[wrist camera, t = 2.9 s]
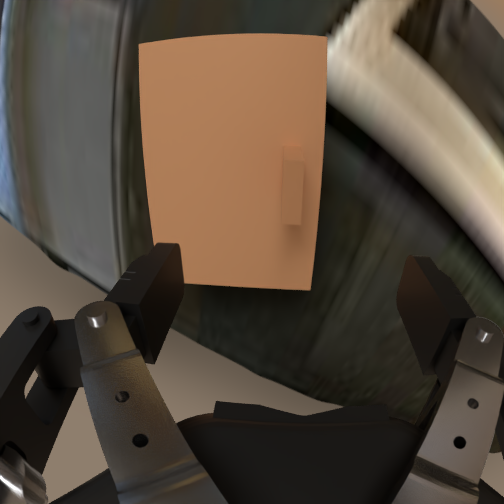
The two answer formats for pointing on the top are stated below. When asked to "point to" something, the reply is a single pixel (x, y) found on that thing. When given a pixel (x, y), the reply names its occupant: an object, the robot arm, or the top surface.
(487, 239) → the top surface
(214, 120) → the snap lid
